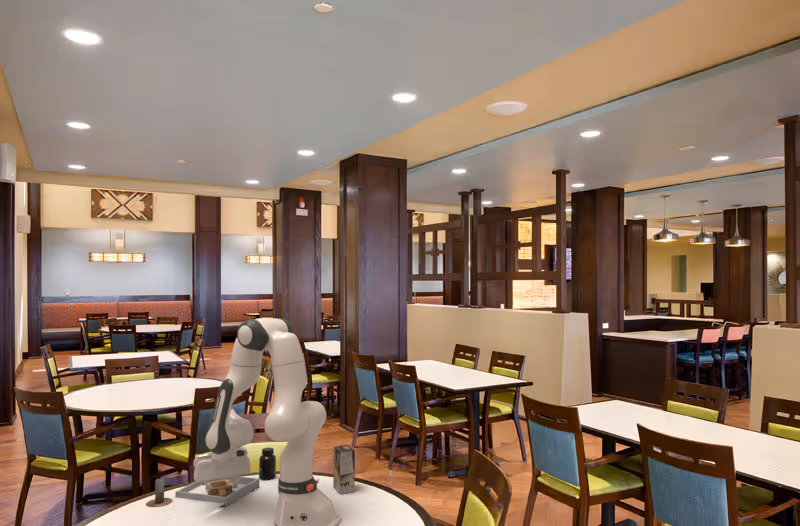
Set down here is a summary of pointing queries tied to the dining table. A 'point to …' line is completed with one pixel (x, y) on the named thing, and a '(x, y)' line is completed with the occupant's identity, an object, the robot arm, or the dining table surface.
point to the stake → (159, 495)
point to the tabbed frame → (220, 487)
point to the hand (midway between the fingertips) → (222, 489)
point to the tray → (243, 488)
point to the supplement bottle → (267, 464)
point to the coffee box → (344, 469)
